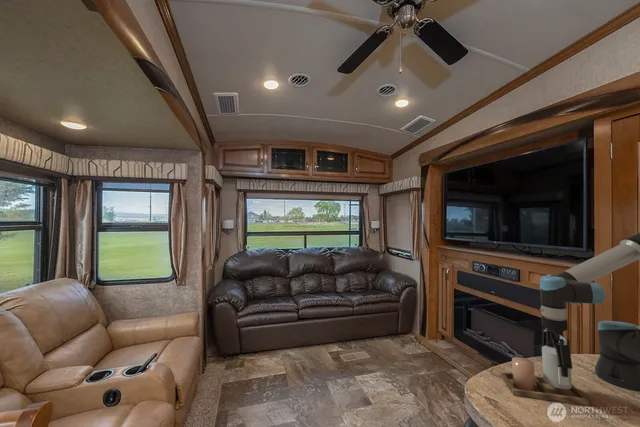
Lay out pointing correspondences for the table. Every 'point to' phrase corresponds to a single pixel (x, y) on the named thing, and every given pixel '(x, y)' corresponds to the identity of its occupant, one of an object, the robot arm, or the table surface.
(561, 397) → the caddy
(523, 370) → the tan rounded cylinder
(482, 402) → the table surface
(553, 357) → the grey cylinder
